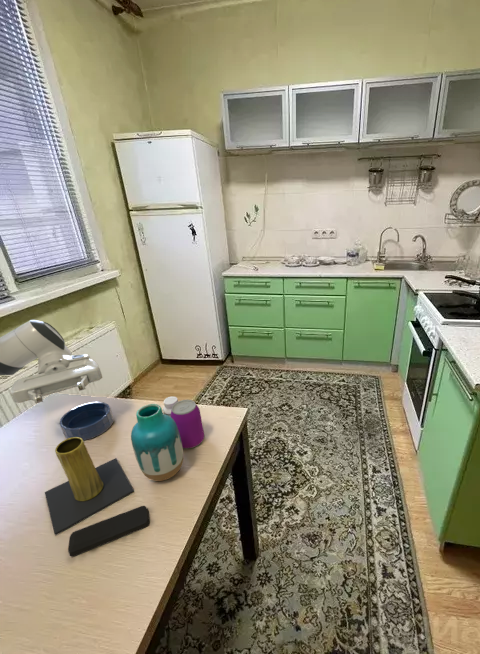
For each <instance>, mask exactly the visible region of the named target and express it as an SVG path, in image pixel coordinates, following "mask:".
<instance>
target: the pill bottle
mask: <svg viewBox="0 0 480 654" xmlns="http://www.w3.org/2000/svg"><path fill="white" fill-rule="evenodd" d="M177 402H179V398H178V397H177V396H167V397H165V398H164V400H163V406H164V407H162V412H163V414H165V415H168V416H170V415H171V410H172V406H173V405H174V404H175V403H177ZM170 417H171V416H170Z"/></svg>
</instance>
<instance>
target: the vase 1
mask: <svg viewBox="0 0 480 654" xmlns="http://www.w3.org/2000/svg"><path fill="white" fill-rule="evenodd" d="M84 441H85V440H83V439H82V438H80V437H72V438H68V439H67V438H65V439H64V440H62V441H60V442H59V443H58V444H57V445H56V447H55V450H54V452H55V455H56V457H57V459H58V461H59V463H60V465H61V467H62V469H63V471H64V474H65V476H66V478H67V481H69V483H70V486H71V489H72V491H73V494H74V498H75V499H76V500H78V501H87V500H90V499H92V498H94V497H95V496H97V495H98V494H99V493H100V492H101V490H102V489H103V482H102V480H101V479H100V477H99V474H98V472H97V470H96V466H95V464H94V462H93V460H92V458H91V456H90V453H89V450H88V449H87V447H86V445H85V444H86V443H85V442H84Z"/></svg>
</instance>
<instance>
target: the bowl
mask: <svg viewBox="0 0 480 654" xmlns="http://www.w3.org/2000/svg"><path fill="white" fill-rule="evenodd" d="M114 421H115V418H114V415H113V412H112V408H111V406H110V405H109V403H106V402H105V401H104V402H103V401H91V402H87V403H83V404H80V405H77V406H75V407H73V408H71V409H69V410H68V411H67V412H65V413H64V414H63V415H62V416H61V418H60V420H59V423H58V424H59V426H60V429H61V431H62V433H63V435H64V437H65V439H68V438H72V437H80V438H82V439H83V441H86V440H90V439H93V438H95V437H98V436H100V435H101V434H103V433H105V432H107V430H109V429H110V428H111V426H112V425H113V423H114Z"/></svg>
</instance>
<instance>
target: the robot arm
mask: <svg viewBox="0 0 480 654" xmlns="http://www.w3.org/2000/svg"><path fill="white" fill-rule="evenodd" d="M35 360H37V364H38V366H37V367H38V368H37V369H38V370H37V374H33V375H29V376H26V377H22V378H19V379H17V380H15V381H14V382H13V383H12V385H11V388H10V390H9V393H10V396H11V399H12V400H13V402H14V403H17V404H21V403H26V402H29V401H33V402H34V404H36V405H37V404H40V403H42V402H44V401H43V400H44V398H43V397H45V396H49V395H53V394H56V393H59V392H64V391H66V390H70V389H74V388H78V391H79V392H81V391H84V390H86V389H87V388H86V387H87V386H88V385H89V384H91V383H94V382H99V381H100V380H102V379H103V374H102V371H101V367H100V366H99V364H98V363H97V362H96V360H94V359H92V358H91V356H90V355H89V354H88V353H84V354H74V355H73V353H72V351H71V350H70V349H69V347H68V346H67V345H66V342H65V338H64V337H63V336H62V335H61V333H60V332H59V331H58V330H57V329H56V328H55V327H54V326H52V324H50V323H48V322H46V321H42V320H37V319H30V320H28V321H26V322H25V323H23V324H21V325H18V326H17V327H15V328H14V329H12V330H10V331H9V332H7V333H5V334H4V335H2V336H0V376H13V375H15V374H16V373H18V372H19V371H21V370H22V369H23V368H24V367H26V366H27V365H29V364H30V363H32V362H34V361H35Z"/></svg>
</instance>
